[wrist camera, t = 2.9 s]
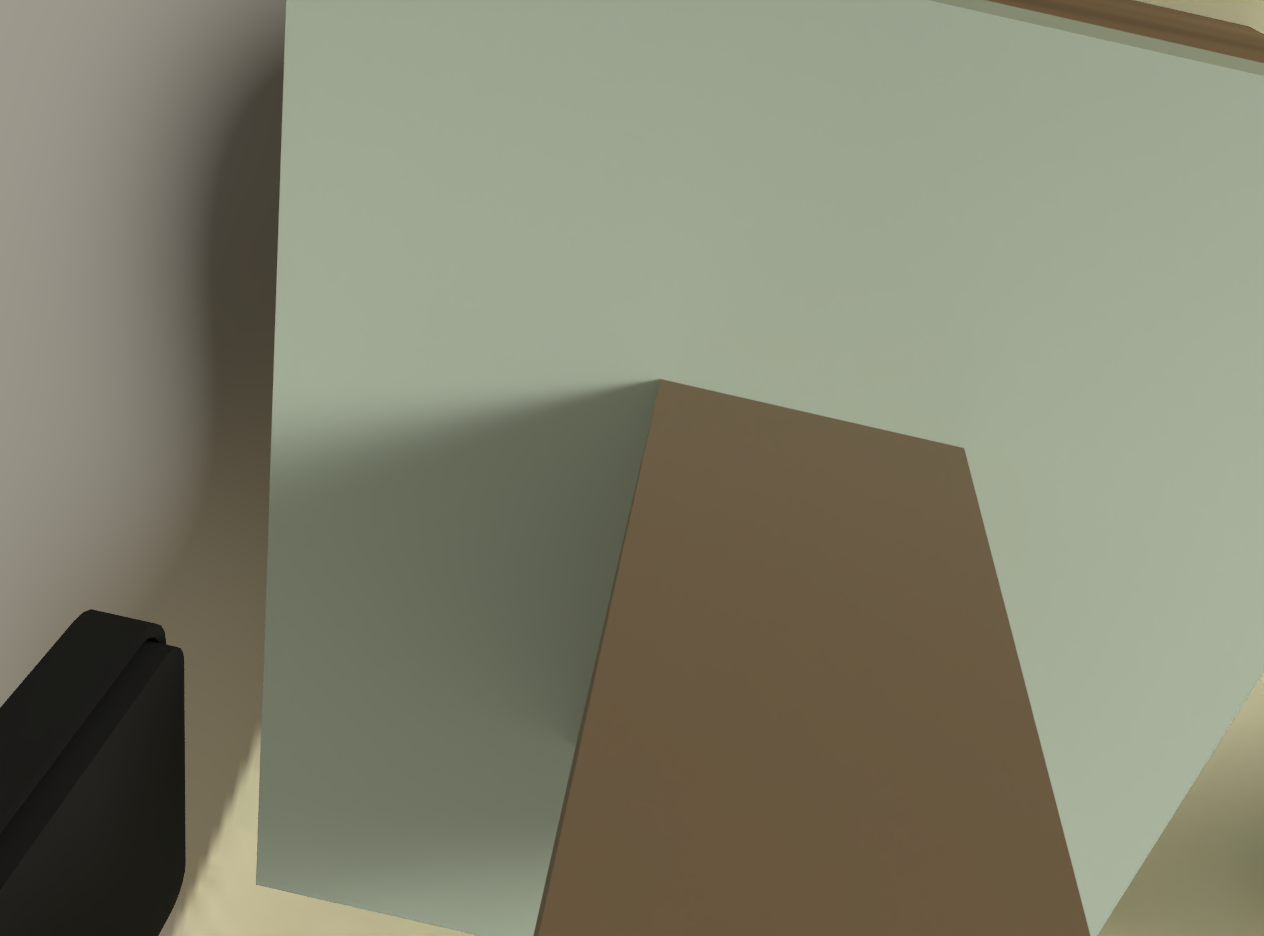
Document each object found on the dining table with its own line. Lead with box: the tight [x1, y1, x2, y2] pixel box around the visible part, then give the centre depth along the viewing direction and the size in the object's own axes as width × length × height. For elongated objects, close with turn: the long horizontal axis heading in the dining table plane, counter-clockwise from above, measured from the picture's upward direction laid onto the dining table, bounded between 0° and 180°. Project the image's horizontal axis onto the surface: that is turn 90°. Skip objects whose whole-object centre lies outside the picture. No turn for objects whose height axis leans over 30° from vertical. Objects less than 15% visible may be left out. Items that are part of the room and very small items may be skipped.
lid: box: [256, 0, 1264, 936], centre depth 10 cm, size 13×11×8 cm
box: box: [987, 0, 1264, 63], centre depth 16 cm, size 12×10×6 cm
